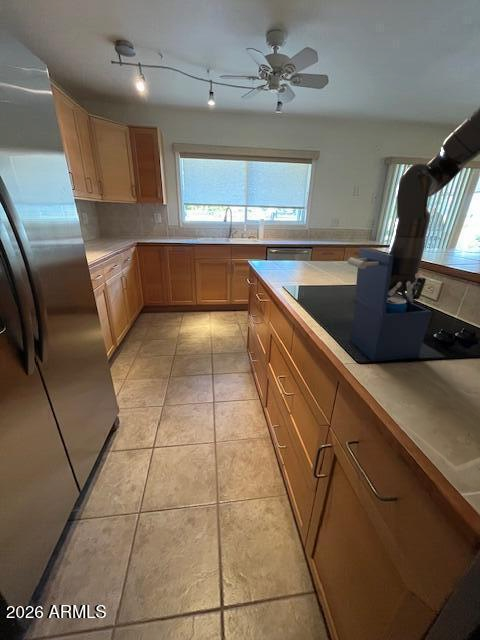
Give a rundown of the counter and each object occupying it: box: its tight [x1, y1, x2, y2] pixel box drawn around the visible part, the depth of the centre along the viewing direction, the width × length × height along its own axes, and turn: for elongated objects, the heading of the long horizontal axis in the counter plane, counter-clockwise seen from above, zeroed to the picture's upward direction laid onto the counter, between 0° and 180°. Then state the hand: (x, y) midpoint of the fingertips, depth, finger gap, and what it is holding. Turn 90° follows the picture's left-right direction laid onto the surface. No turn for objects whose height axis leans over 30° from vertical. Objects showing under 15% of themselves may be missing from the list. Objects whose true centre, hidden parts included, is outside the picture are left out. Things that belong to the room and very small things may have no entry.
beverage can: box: [384, 296, 407, 314], centre depth 74 cm, size 6×6×12 cm
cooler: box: [349, 295, 433, 363], centre depth 75 cm, size 14×13×14 cm
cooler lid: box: [347, 247, 394, 313], centre depth 68 cm, size 14×13×6 cm
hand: (391, 314), depth 73 cm, fingers closed on beverage can, 6 cm apart
